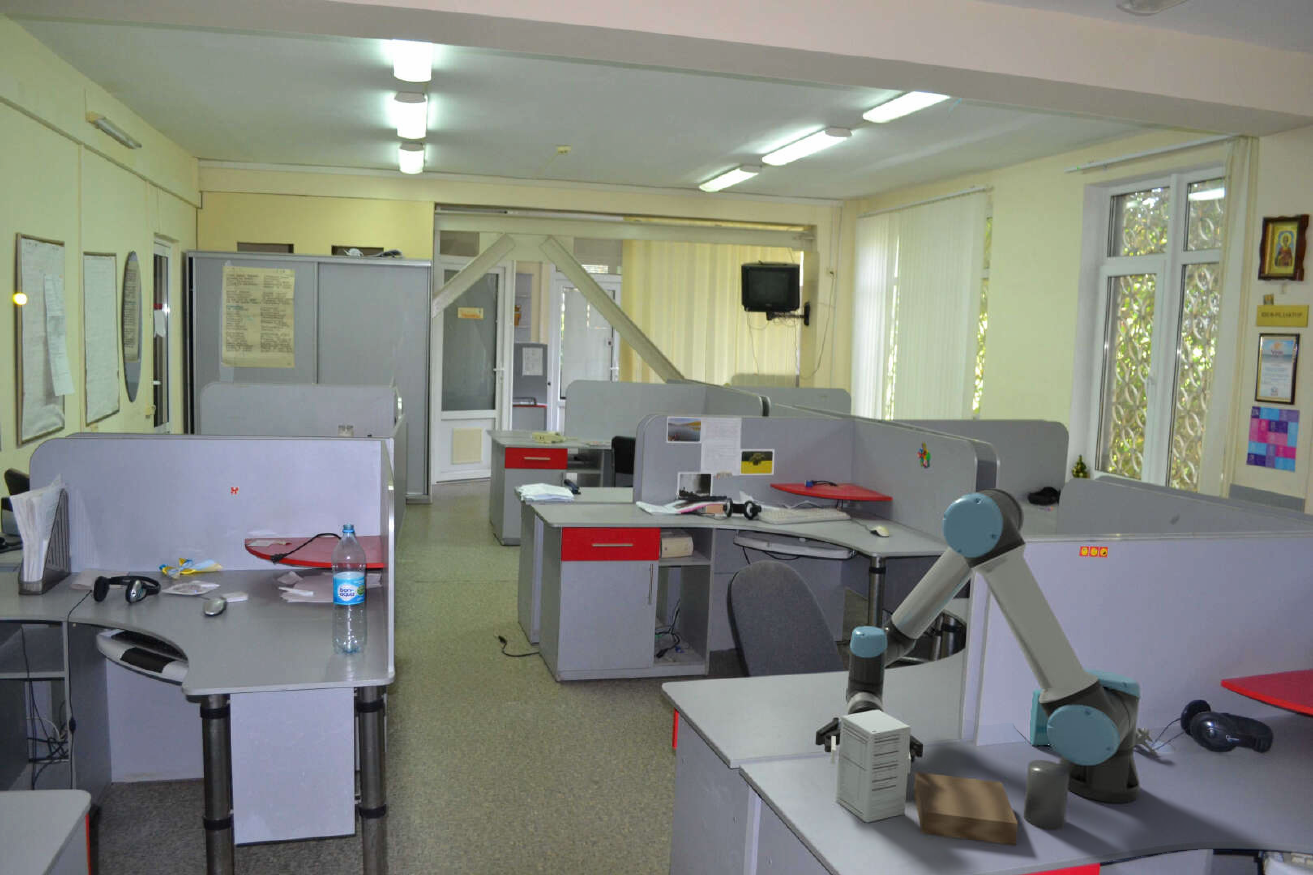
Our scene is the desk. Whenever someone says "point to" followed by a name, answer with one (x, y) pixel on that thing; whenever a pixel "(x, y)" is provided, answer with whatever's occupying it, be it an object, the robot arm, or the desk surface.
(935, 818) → the podium
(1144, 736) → the pale grey branched piece
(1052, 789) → the dark grey cylinder
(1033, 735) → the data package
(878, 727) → the supplement box
